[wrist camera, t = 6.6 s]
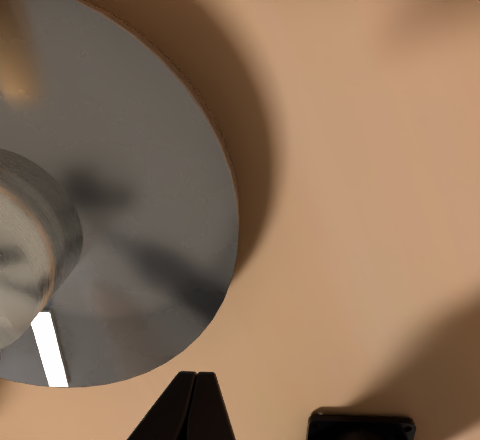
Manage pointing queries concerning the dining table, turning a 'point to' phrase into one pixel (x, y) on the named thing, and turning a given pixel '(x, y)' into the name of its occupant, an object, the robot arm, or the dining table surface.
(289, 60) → the dining table surface
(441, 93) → the dining table surface
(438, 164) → the dining table surface
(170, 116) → the platter
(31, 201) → the cover
